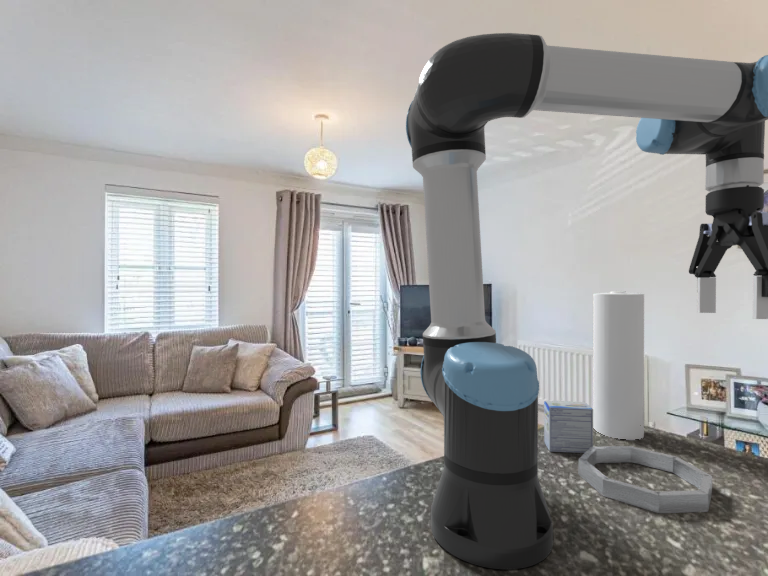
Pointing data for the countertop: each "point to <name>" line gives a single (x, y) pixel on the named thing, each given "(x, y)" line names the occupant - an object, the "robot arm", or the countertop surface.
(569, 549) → the countertop surface
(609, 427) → the cylinder container
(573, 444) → the medicine box
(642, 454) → the collar
